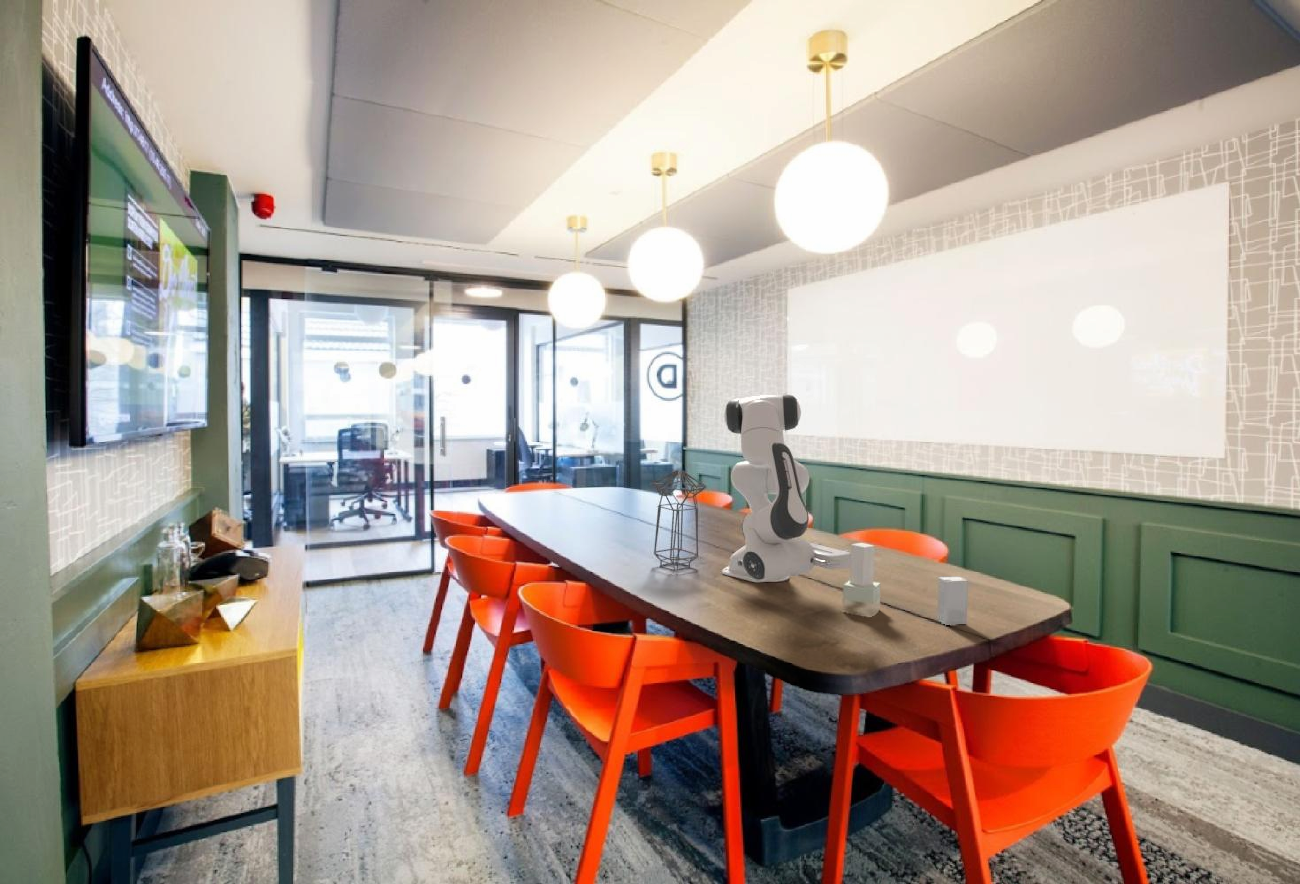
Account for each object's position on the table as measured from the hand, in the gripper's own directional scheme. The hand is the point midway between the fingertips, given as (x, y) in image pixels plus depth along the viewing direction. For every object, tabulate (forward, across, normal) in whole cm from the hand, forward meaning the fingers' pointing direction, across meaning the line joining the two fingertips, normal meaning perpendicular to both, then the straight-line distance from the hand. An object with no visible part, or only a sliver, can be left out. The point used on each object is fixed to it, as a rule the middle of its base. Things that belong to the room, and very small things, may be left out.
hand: (833, 549), depth 168 cm
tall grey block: (+11, -1, +11) cm, 16 cm away
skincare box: (+23, -21, +19) cm, 36 cm away
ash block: (+11, -1, +19) cm, 22 cm away
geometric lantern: (-3, +66, +20) cm, 69 cm away
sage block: (+12, -1, +15) cm, 19 cm away
